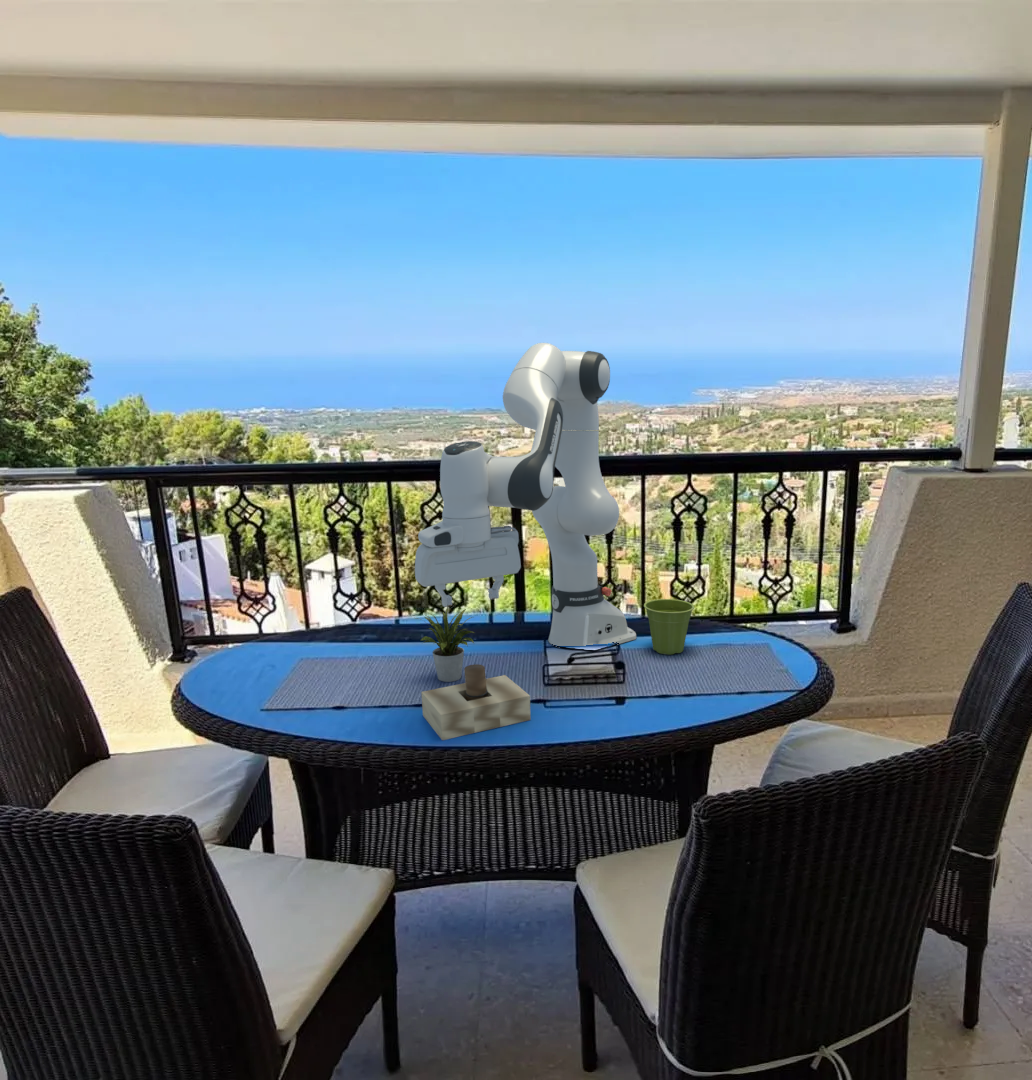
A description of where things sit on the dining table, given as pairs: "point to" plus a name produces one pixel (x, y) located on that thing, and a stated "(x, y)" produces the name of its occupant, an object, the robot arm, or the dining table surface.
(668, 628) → the plant pot
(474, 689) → the peg
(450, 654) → the house plant
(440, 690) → the seat block
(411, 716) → the dining table surface
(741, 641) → the dining table surface
